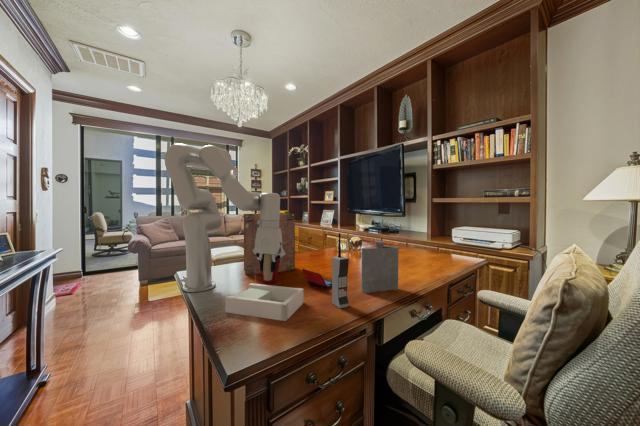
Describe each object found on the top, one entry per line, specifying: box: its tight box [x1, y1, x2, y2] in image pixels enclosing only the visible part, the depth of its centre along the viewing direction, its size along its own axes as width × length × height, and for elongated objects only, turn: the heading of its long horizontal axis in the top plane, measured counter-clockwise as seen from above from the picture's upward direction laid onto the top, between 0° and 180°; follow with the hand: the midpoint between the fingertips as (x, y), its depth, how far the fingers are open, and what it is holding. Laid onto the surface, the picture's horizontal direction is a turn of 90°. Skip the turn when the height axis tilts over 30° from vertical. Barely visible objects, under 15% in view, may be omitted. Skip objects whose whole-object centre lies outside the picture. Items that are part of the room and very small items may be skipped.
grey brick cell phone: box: [331, 232, 350, 309], centre depth 88 cm, size 4×5×25 cm
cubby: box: [224, 282, 305, 322], centre depth 87 cm, size 22×15×5 cm
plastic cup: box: [257, 254, 281, 285], centre depth 115 cm, size 11×11×12 cm
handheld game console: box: [302, 268, 332, 291], centre depth 110 cm, size 12×11×7 cm
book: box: [243, 212, 296, 276], centre depth 134 cm, size 25×9×30 cm, turn 109°
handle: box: [263, 254, 273, 281], centre depth 101 cm, size 5×6×15 cm
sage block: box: [234, 287, 272, 301], centre depth 89 cm, size 9×9×4 cm
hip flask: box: [360, 240, 400, 294], centre depth 104 cm, size 16×4×20 cm, turn 104°
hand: (268, 270), depth 101 cm, fingers closed on handle, 4 cm apart
